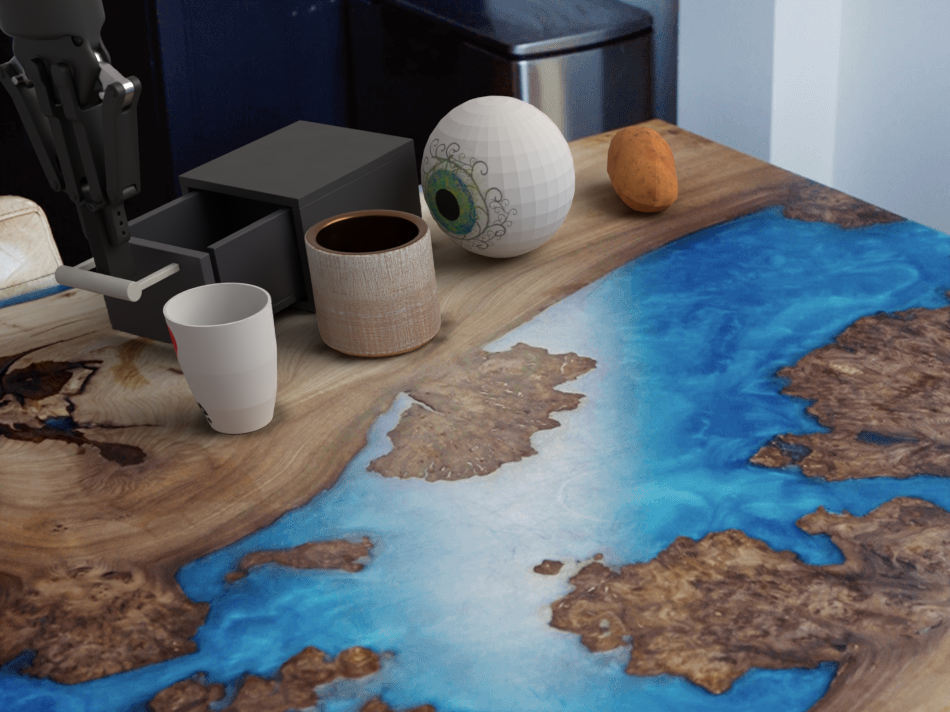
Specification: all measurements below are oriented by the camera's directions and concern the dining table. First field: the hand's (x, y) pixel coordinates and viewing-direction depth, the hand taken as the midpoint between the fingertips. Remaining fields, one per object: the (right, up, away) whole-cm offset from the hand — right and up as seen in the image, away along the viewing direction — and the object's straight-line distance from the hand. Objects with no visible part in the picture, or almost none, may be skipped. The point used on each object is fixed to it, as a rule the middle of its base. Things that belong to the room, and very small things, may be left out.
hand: (118, 278), depth 118 cm
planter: (+20, -3, +10) cm, 23 cm away
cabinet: (+11, +7, +22) cm, 26 cm away
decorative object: (+30, +9, +24) cm, 40 cm away
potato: (+44, +18, +36) cm, 59 cm away
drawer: (+4, -1, +10) cm, 11 cm away
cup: (+11, -12, -2) cm, 17 cm away
